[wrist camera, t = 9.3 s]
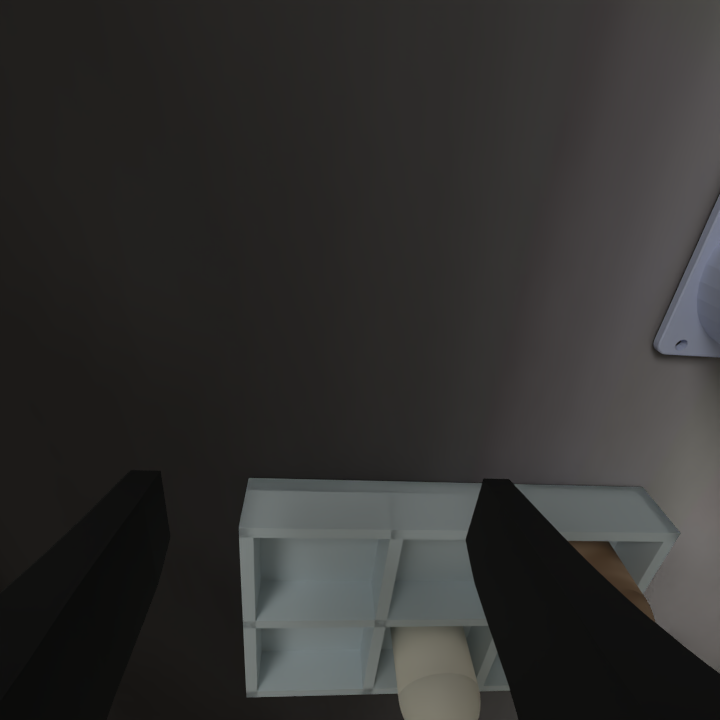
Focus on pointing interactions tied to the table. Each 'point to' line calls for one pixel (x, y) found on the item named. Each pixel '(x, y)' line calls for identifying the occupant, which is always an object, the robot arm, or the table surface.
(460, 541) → the egg carton
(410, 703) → the cream egg
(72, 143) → the table surface
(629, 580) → the walnut egg
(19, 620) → the robot arm
